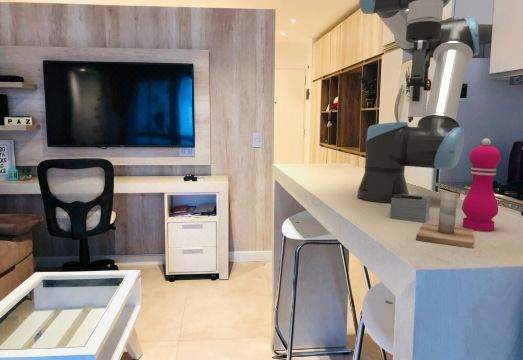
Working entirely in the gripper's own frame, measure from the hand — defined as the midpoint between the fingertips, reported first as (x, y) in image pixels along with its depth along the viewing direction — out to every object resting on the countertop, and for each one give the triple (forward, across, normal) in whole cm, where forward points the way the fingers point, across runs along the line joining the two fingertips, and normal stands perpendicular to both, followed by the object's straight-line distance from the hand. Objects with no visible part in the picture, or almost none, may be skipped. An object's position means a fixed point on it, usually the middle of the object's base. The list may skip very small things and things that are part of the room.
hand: (417, 117), depth 100 cm
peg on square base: (+24, +16, +8) cm, 30 cm away
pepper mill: (+24, +3, +15) cm, 29 cm away
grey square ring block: (+24, 0, 0) cm, 24 cm away
